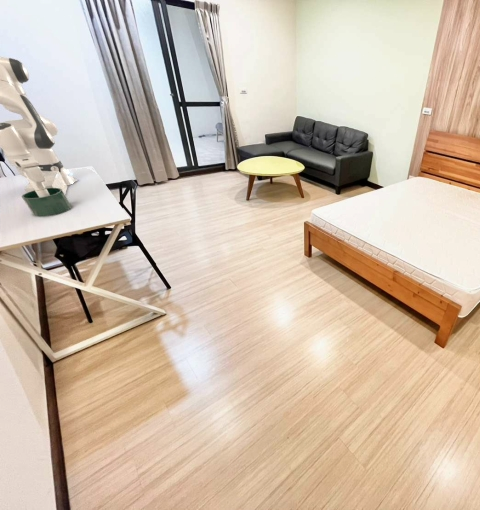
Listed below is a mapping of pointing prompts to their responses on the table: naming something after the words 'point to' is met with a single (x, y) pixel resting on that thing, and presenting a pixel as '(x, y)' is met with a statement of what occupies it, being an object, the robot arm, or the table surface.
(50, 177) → the cream long block
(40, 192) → the tube
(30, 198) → the pot
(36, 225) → the table surface
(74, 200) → the table surface
